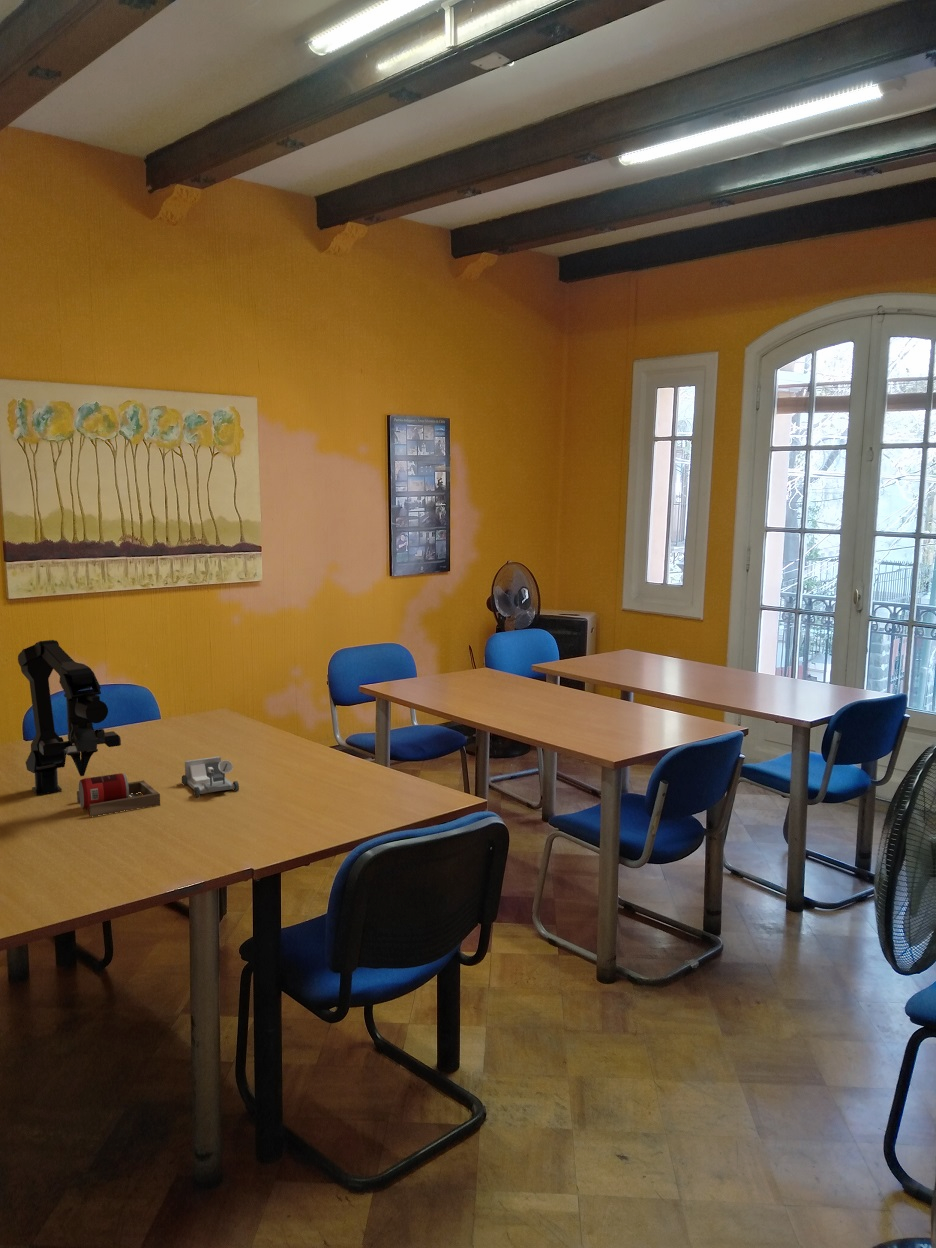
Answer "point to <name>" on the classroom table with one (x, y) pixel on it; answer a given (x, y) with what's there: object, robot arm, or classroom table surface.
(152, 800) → the cradle
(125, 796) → the canned food
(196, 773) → the toy car
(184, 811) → the classroom table surface
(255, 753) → the classroom table surface
